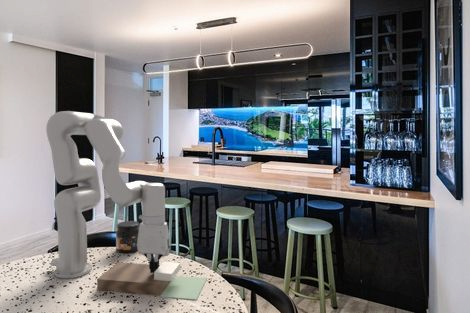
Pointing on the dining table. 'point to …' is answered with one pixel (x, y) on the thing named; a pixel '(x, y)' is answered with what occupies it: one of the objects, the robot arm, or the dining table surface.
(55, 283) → the dining table surface
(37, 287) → the dining table surface
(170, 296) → the mat
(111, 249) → the dining table surface
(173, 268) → the white rectangular block
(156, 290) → the deck
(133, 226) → the supplement container
